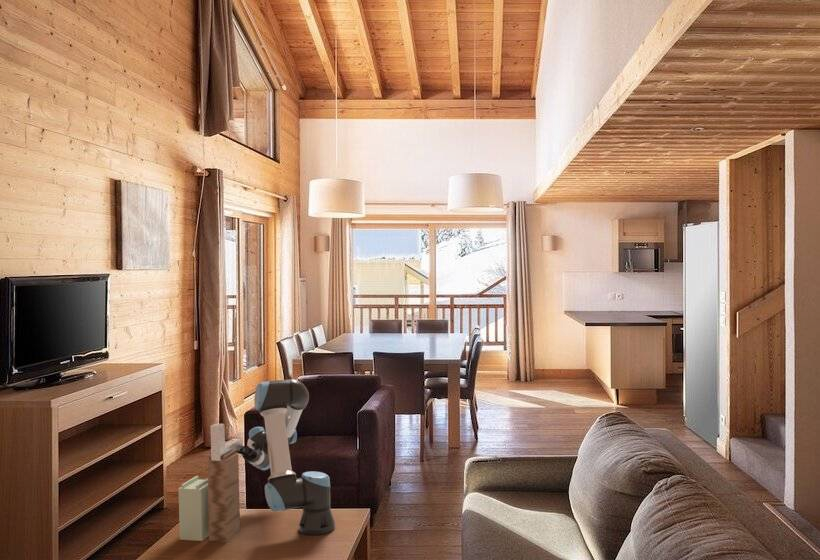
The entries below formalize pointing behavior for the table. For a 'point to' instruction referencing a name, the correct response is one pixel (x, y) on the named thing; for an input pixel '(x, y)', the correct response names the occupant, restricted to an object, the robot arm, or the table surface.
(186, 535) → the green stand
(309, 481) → the robot arm
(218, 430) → the stepped metal block
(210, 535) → the walnut stand
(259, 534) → the table surface
